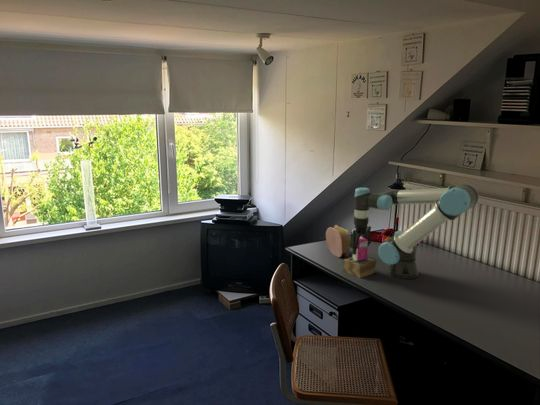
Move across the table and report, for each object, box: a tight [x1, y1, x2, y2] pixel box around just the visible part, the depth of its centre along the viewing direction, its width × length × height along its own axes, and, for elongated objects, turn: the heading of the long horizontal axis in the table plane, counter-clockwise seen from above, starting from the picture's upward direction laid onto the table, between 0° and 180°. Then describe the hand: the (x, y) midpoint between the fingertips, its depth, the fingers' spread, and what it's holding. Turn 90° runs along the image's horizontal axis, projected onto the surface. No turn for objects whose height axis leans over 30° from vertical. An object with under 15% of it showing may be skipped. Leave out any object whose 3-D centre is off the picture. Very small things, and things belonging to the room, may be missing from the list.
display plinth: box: [343, 256, 377, 279], centre depth 239 cm, size 12×12×7 cm
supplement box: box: [357, 236, 369, 261], centre depth 236 cm, size 6×6×12 cm
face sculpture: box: [325, 224, 351, 259], centre depth 266 cm, size 20×7×17 cm, turn 25°
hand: (359, 258), depth 238 cm, fingers closed on supplement box, 6 cm apart
